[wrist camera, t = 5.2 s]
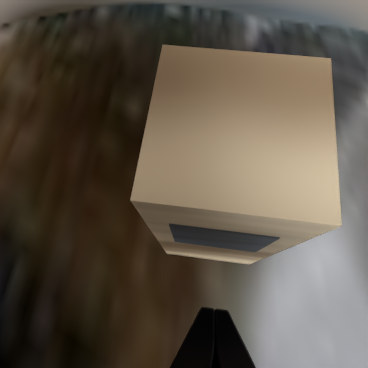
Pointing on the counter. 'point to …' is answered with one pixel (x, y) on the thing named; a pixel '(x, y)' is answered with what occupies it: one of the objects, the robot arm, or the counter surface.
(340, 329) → the counter surface
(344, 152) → the counter surface
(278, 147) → the maple block
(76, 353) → the counter surface
